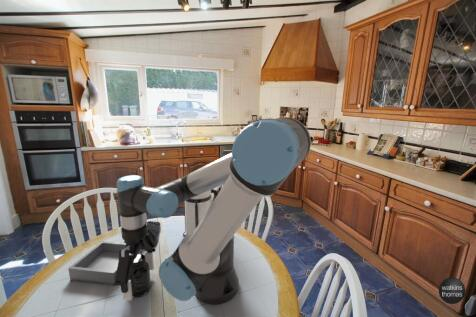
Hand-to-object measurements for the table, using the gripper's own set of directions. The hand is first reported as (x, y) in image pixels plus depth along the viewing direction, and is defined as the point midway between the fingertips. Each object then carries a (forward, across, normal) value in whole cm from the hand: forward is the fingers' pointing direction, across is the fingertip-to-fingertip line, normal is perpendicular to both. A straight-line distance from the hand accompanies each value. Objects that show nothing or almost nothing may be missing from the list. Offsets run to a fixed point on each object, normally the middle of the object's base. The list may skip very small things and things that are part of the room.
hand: (139, 282), depth 78 cm
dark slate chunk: (+3, -31, -16) cm, 35 cm away
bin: (+3, -9, -18) cm, 20 cm away
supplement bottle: (+3, 0, 0) cm, 3 cm away
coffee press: (+3, -37, +10) cm, 38 cm away
